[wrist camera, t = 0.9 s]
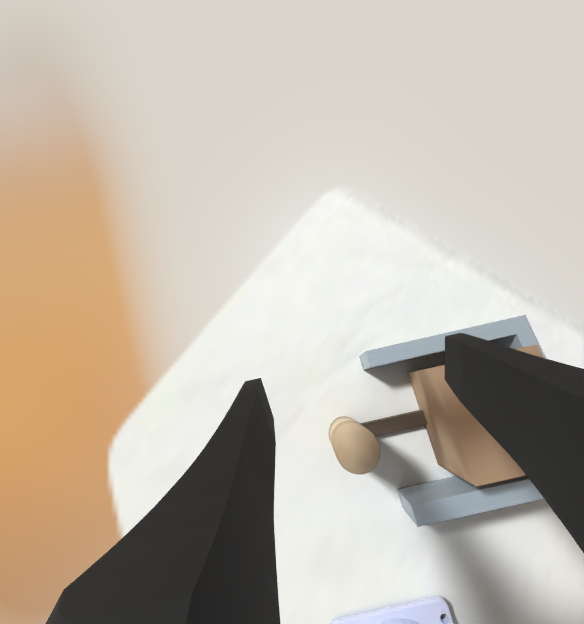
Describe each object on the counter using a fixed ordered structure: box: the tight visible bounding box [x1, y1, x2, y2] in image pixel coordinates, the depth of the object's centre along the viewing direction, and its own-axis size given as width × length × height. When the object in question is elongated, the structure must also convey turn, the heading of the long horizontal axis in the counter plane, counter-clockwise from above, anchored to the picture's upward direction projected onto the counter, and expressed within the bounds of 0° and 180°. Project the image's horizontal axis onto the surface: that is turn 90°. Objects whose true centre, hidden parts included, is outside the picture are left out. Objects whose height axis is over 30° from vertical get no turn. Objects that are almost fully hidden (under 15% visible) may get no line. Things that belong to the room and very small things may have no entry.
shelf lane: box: [359, 315, 546, 527], centre depth 20 cm, size 11×12×3 cm
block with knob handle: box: [329, 344, 544, 486], centre depth 19 cm, size 7×15×6 cm, turn 102°
